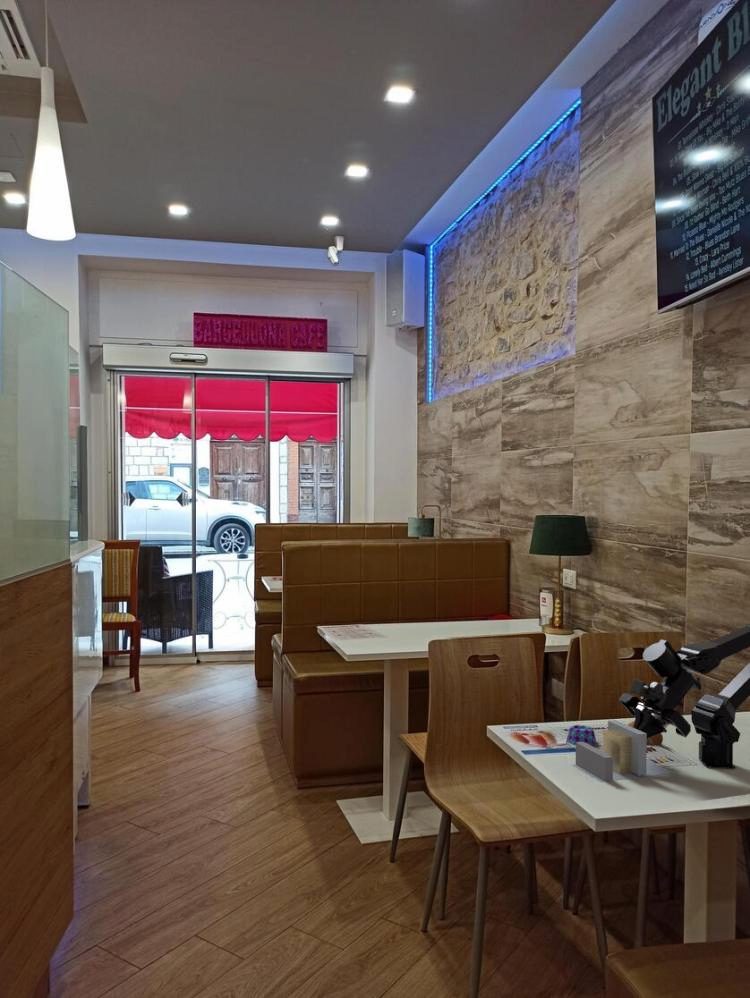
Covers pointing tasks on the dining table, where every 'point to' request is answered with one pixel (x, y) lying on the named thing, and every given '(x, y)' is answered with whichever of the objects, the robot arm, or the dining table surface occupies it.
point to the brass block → (618, 750)
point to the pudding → (580, 735)
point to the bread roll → (654, 739)
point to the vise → (607, 765)
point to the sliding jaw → (633, 746)
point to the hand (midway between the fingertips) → (631, 742)
